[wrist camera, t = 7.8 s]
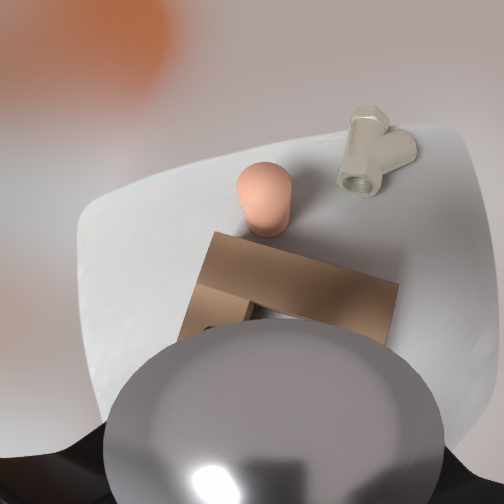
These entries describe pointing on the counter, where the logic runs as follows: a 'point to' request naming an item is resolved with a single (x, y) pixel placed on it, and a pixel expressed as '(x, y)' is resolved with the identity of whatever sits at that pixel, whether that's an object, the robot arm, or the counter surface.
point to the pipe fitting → (372, 152)
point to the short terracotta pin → (265, 198)
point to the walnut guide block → (285, 290)
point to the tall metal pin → (274, 421)
